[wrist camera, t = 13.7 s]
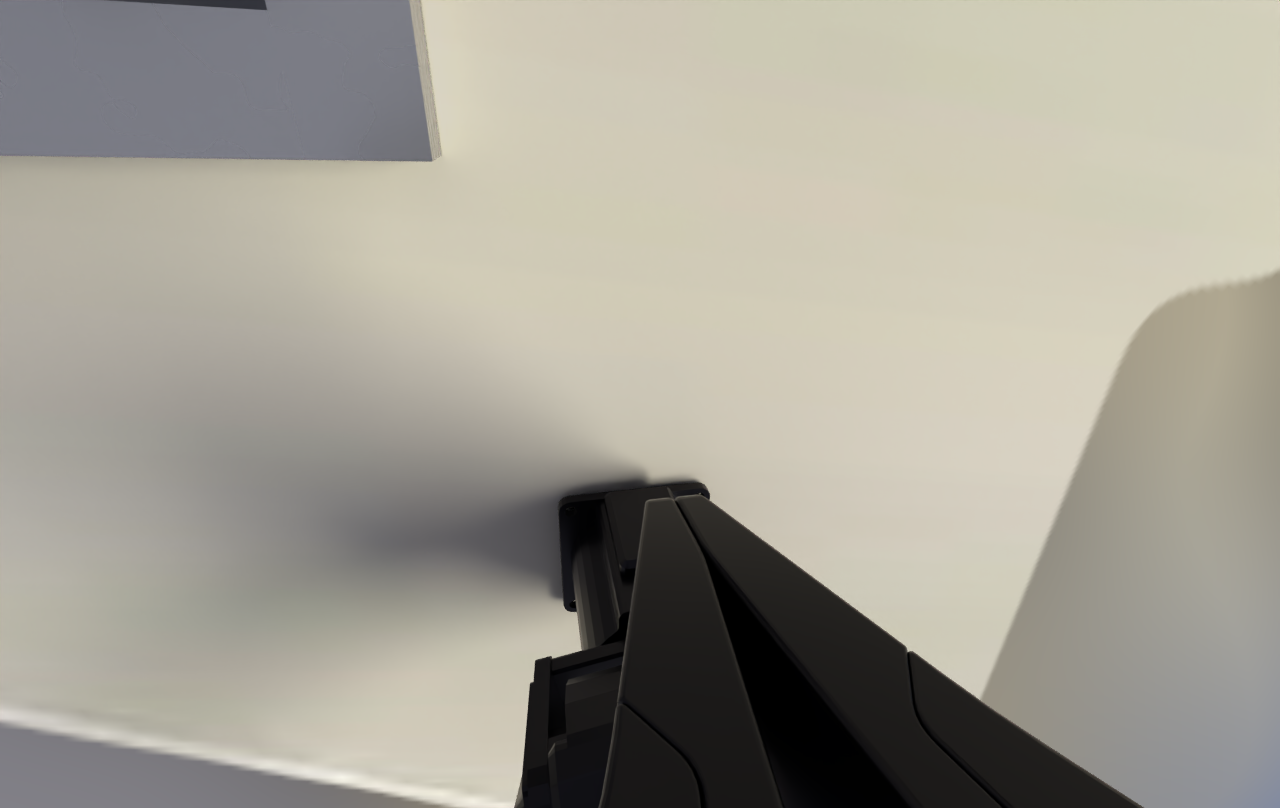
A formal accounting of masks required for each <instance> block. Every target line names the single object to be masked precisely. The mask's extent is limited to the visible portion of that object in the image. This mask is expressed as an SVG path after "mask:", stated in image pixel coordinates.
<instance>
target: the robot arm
mask: <svg viewBox="0 0 1280 808" xmlns="http://www.w3.org/2000/svg"><path fill="white" fill-rule="evenodd" d="M697 493H701V494H700V495H696V494H697ZM568 507H575V508H574V509H573V510H566V509H567V508H568ZM558 515H559V532H560V550H561V567H562V585H563V601H564V607H565V609H566V610H567V611H570V612H577V616H578V624H579V632H580V640H581V648H582V651H579V652H575V653H571V654H568V655H564V656H560V657H557V658H553V659H552V657H551V656H549V657H546V658H542V659H538V660H535V671H534V682H532V683H530V691H529V702H528V714H527V726H526V738H525V749H524V761H523V773H522V778H521V782H520V786H519V791H518V795H517V799H516V803H515V807H514V808H1144V807H1142V806H1141V805H1139V804H1138V803H1136V802H1134V801H1133V800H1131V799H1130V798H1128V797H1127V796H1125V795H1124V794H1122V793H1120V792H1119V791H1117V790H1116V789H1114V788H1113V787H1111V786H1110V785H1108V784H1106V783H1105V782H1103V781H1102V780H1100V779H1099V778H1097V777H1096V776H1094V775H1092V774H1091V773H1089V772H1088V771H1086V770H1084V769H1083V768H1082V767H1080V766H1078V765H1077V764H1075V763H1074V762H1072V761H1071V760H1069V759H1068V758H1066V757H1064V756H1063V755H1061V754H1060V753H1058V752H1057V751H1055V750H1053V749H1052V748H1050V747H1049V746H1047V745H1046V744H1044V743H1043V742H1041V741H1040V740H1038V739H1037V738H1035V737H1034V736H1032V735H1031V734H1029V733H1028V732H1026V731H1025V730H1023V729H1021V728H1020V727H1019V726H1017V725H1016V724H1014V723H1013V722H1011V721H1010V720H1008V719H1007V718H1005V717H1004V716H1002V715H1001V714H999V713H998V712H996V711H995V710H993V709H992V708H990V707H989V706H987V705H986V704H985V703H983V702H982V701H981V700H979V699H978V698H976V697H975V696H974V695H972V694H971V693H969V692H968V691H967V690H965V689H964V688H962V687H961V686H960V685H958V684H957V683H955V682H954V681H953V680H951V679H950V678H948V677H947V676H946V675H944V674H943V673H941V672H940V671H939V670H937V669H936V668H935V667H933V666H932V665H931V664H929V663H928V662H927V661H925V660H924V659H923V658H921V657H920V656H919V655H917V654H916V653H914V652H913V651H910V652H907V648H906V646H905V645H903V644H902V643H901V642H899V641H898V640H897V639H895V638H894V637H893V636H891V635H890V634H889V633H887V632H886V631H885V630H883V629H882V628H881V627H879V626H878V625H876V624H875V623H874V622H872V621H871V620H870V619H868V618H867V617H866V616H864V615H863V614H862V613H860V612H859V611H858V610H856V609H855V608H854V607H852V606H851V605H850V604H848V603H847V602H846V601H844V600H843V599H842V598H840V597H839V596H837V595H836V594H835V593H833V592H832V591H831V590H829V589H828V588H827V587H825V586H824V585H823V584H821V583H820V582H819V581H817V580H816V579H815V578H813V577H812V576H811V575H809V574H808V573H807V572H805V571H804V570H803V569H801V568H800V567H798V566H797V565H796V564H794V563H793V562H792V561H790V560H789V559H788V558H786V557H785V556H784V555H782V554H781V553H780V552H778V551H777V550H776V549H774V548H773V547H772V546H770V545H769V544H768V543H766V542H765V541H764V540H762V539H761V538H759V537H758V536H757V535H755V534H754V533H753V532H751V531H750V530H749V529H747V528H746V527H745V526H743V525H742V524H741V523H739V522H738V521H737V520H735V519H734V518H733V517H731V516H730V515H729V514H727V513H726V512H725V511H723V510H722V509H720V508H719V507H718V506H716V505H715V504H714V503H712V502H711V501H710V493H709V491H708V489H707V487H706V486H705V485H704V484H702V483H690V484H680V485H670V486H661V487H651V488H642V489H632V490H623V491H613V492H603V493H594V494H584V495H575V496H568V497H565V498H563V499H562V500H561V501H560V502H559V504H558ZM574 600H576V601H574Z"/></svg>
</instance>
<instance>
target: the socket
mask: <svg viewBox="0 0 1280 808" xmlns="http://www.w3.org/2000/svg"><path fill="white" fill-rule="evenodd" d="M0 156H72V157H145V158H217V159H289V160H361V161H434V160H435V159H437V158H438V157H440V156H441V148H440V141H439V133H438V126H437V119H436V111H435V104H434V97H433V89H432V82H431V75H430V67H429V60H428V53H427V45H426V38H425V31H424V24H423V16H422V9H421V2H420V0H0Z"/></svg>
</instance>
